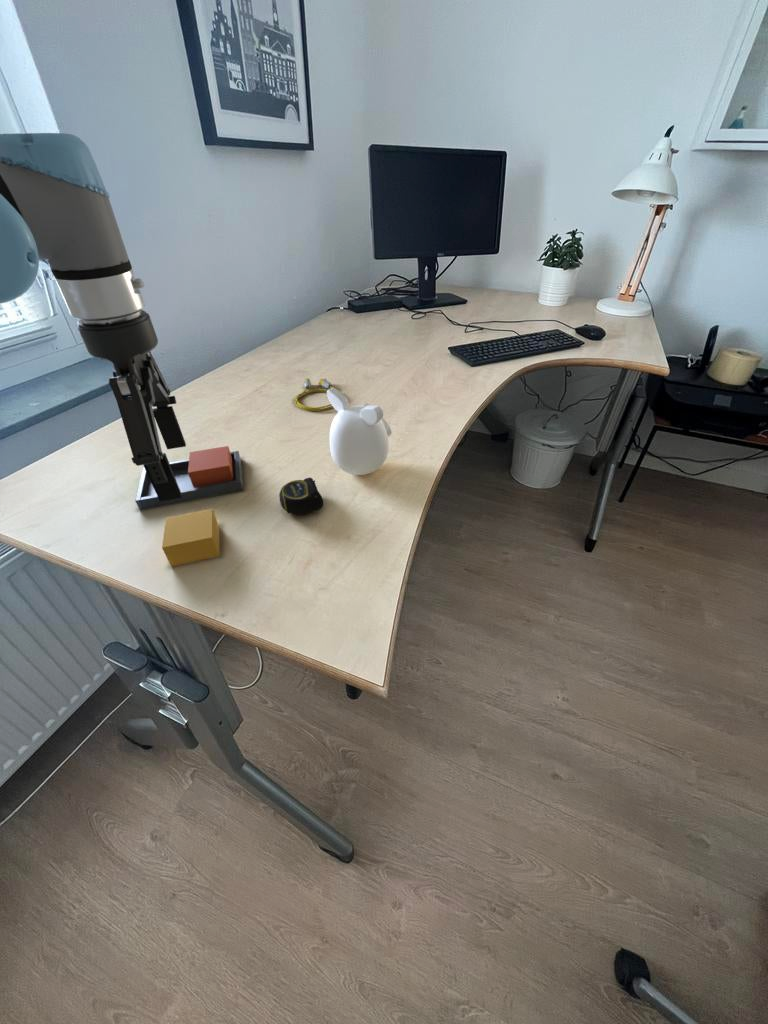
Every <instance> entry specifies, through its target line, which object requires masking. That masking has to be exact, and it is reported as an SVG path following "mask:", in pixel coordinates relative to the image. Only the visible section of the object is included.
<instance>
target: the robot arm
mask: <svg viewBox="0 0 768 1024" xmlns="http://www.w3.org/2000/svg"><path fill="white" fill-rule="evenodd" d="M124 243H125V242H124V240H123V236H122V234H121V231H120V228H119V225H118V222H117V218H116V216H115V212H114V210H113V207H112V204H111V201H110V195H109V192H108V191H107V189H106V187H105V184H104V182H103V179H102V177H101V174H100V172H99V169H98V166H97V164H96V162H95V159H94V157H93V155H92V152H91V150H90V148H89V146H88V144H86V142H84V141H83V139H81V138H80V137H78V136H76V135H75V134H72V133H66V132H65V133H64V132H27V133H26V132H25V133H22V132H21V133H19V132H18V133H0V305H1V304H7V303H9V302H12V301H14V300H16V299H18V298H20V297H22V296H23V295H24V294H26V292H28V291H29V290H30V288H31V287H32V286H33V284H34V282H35V281H36V278H37V276H38V273H39V272H38V271H39V266H40V261H45V262H46V263H47V265H48V266H49V268H50V271H51V273H52V275H53V278H54V281H55V283H56V285H57V287H58V289H59V292H60V294H61V296H62V298H63V301H64V303H65V305H66V308H67V310H68V312H69V314H70V316H71V317H73V318H74V319H75V320H78V321H77V324H76V328H77V330H78V333H79V335H80V337H81V340H82V341H83V344H84V346H85V348H86V350H87V352H88V354H89V355H90V356H91V357H93V358H95V359H98V360H106V361H109V362H111V363H112V365H113V370H114V371H112V377H109V378H108V385H109V386H110V388H111V390H112V393H113V396H114V398H115V400H116V404H117V407H118V411H119V413H120V418H121V421H122V424H123V427H124V430H125V434H126V437H127V441H128V445H129V448H130V450H131V454H132V457H131V461H132V463H133V464H134V465H135V466H137V467H139V466H143V467H145V470H146V472H147V474H148V476H149V479H150V481H151V483H152V485H153V487H154V490H155V492H156V494H157V496H158V498H159V501H160V502H161V501H166V500H171V499H177V498H182V493H181V491H180V488H179V486H178V483H177V481H176V479H175V476H174V474H173V471H172V469H171V466H170V464H169V462H170V461H169V459H168V457H167V454H166V452H163V449H162V445H161V441H160V436H159V433H160V435H161V436H162V440H163V443H164V445H165V448H166V449H167V450H173V449H180V448H184V447H185V448H186V447H187V443H186V440H185V438H184V435H183V432H182V430H181V427H180V423H179V421H178V419H177V415H176V413H175V410H174V408H173V405H177V399H176V396H175V395H171V393H172V392H171V389H170V388H169V386H168V384H167V382H166V380H165V378H164V375H163V374H162V372H161V369H160V368H159V366H158V364H157V362H156V360H155V358H154V356H153V353H152V351H153V350H154V349H155V348H156V347H157V346H158V344H159V340H158V336H157V333H156V331H155V328H154V324H153V322H152V319H151V316H150V314H149V313H147V311H145V310H143V309H144V307H145V306H146V304H145V300H144V298H143V295H142V291H141V289H143V288H144V287H145V283H144V281H143V280H142V278H138V277H137V278H135V271H134V270H133V266H132V263H131V260H130V258H129V256H128V252H127V250H126V247H125V244H124ZM169 405H171V406H169ZM157 427H158V428H157ZM158 429H159V432H158Z"/></svg>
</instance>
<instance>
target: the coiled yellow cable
mask: <svg viewBox="0 0 768 1024" xmlns="http://www.w3.org/2000/svg"><path fill="white" fill-rule="evenodd" d="M303 386H304V390H303V391H302V392H301V393H299V394H297V395H296V397H295V399H294V404H295V405H296V407H298V408H300V409H302V410H304V411H309V412H323V411H327V410H328V411H329V410H331V409H334V407H333V406H332V405H331V403H329V404H327V405H324V406H318V407H312V406H306V405H304V404H302V403H301V402H299V399H301V398H302V397H304V396H307V395H310V394H312V393H327V391H328V390H329V389H331V388H333V384H332V383H331V382H329V381H328V380H327V379H326V378H320V379H319V381H318V386H321V387H323V388H325V389H321V388H320V389H319V388H316V389H315V388H314V389H313V388H312V389H311V387H312V383H311V380H310V378H305V379H304V382H303Z"/></svg>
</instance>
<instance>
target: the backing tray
mask: <svg viewBox="0 0 768 1024" xmlns="http://www.w3.org/2000/svg"><path fill="white" fill-rule="evenodd" d="M230 454H231V457H232V460H233V466H234V481H230V482H224V483H219V484H213V485H208V486H202V487H197V488H194V487H193V485H192V482H191V479H190V477H189V474H188V466H189V458H188V459H180V460H175V461H169V464H170V466H171V469H172V471H173V474H174V476H175V479H176V481H177V483H178V486H179V488H180V491H181V493H182V498H177V499H171V500H166V501H161V502H160V501H159V498H158V496H157V494H156V492H155V490H154V487H153V485H152V483H151V481H150V479H149V476H148V474H147V472H146V470H145V467H144V466H142V470H141V475H140V479H139V484H138V487H137V493H136V496H135V503H136V505H137V507H138V510H139V511H141V510H147V509H151V508H152V509H153V508H156V507H163V506H169V505H173V504H179V503H185V502H190V501H195V500H200V499H201V500H202V499H205V498H211V497H216V496H223V495H227V494H233V493H238V492H243V491H244V482H243V481H244V480H243V471H242V470H243V469H242V458H241V456H240V451H239V450H236V451H235V450H234V451H230Z"/></svg>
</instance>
